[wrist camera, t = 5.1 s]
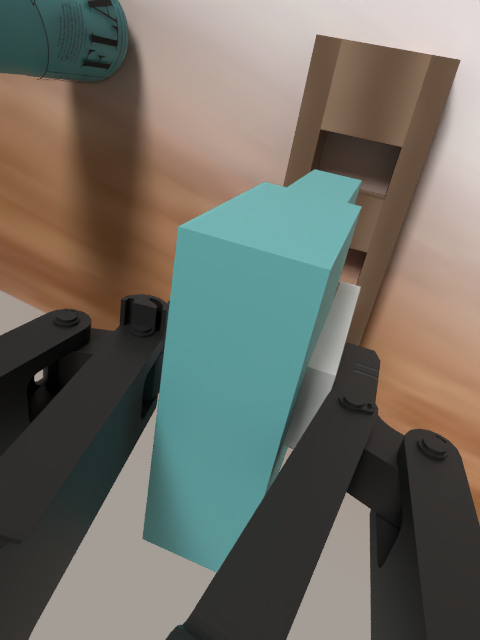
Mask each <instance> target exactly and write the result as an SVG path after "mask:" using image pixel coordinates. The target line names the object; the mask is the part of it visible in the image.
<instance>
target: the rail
mask: <svg viewBox="0 0 480 640" xmlns="http://www.w3.org/2000/svg"><path fill="white" fill-rule="evenodd" d="M459 63H460V60H458V59H452V58H446V57H441V56H435V55H429V54H424V53H418V52H412V51H407V50H401V49H396V48H390V47H384V46H379V45H373V44H367V43H362V42H356V41H350V40H345V39H339V38H333V37H328V36H322V35H316V39H315V44H314V49H313V53H312V58H311V62H310V67H309V72H308V76H307V81H306V85H305V90H304V94H303V99H302V104H301V108H300V113H299V117H298V122H297V127H296V131H295V136H294V140H293V145H292V149H291V154H290V159H289V163H288V168H287V172H286V177H285V182H284V186H283V187H288V186H290V185H291V184H293V183H294V182H296V181H297V180H299V179H300V178H302V177H304V176H305V175H307V174H308V173H310V172H311V171H313V170H314V169H316V170H317V168H318V164H319V160H320V156H321V152H322V148H323V144H324V140H325V136H326V132H327V131H331V132H336V133H340V134H345V135H349V136H354V137H358V138H363V139H367V140H372V141H376V142H381V143H386V144H390V145H395V146H399V147H401V149H400V152H399V155H398V159H397V162H396V165H395V168H394V171H393V174H392V177H391V180H390V183H389V186H388V189H387V192H386V195H382V194H378V193H373V192H369V191H365V190H361V189H359V192H358V196H357V199H356V202H355V205H358V206H362V208H361V211H360V214H359V217H358V221H357V224H356V227H355V231H354V234H353V237H352V240H351V244H350V247H349V248H352V249H356V250H359V251H363V252H367V253H366V256H365V260H364V263H363V266H362V269H361V272H360V275H359V278H358V281H357V284H356V285H357V286H360V287H361V288H360V292H359V295H358V299H357V302H356V306H355V309H354V313H353V316H352V320H351V324H350V327H349V331H348V334H347V338H346V341H345V342H348V343H351V344H354V345H357V346H359V345H360V342H361V339H362V336H363V334H364V331H365V328H366V325H367V322H368V319H369V317H370V314H371V311H372V308H373V305H374V303H375V300H376V297H377V294H378V291H379V288H380V286H381V283H382V280H383V277H384V274H385V272H386V269H387V266H388V263H389V260H390V257H391V255H392V252H393V249H394V246H395V243H396V241H397V238H398V235H399V232H400V229H401V227H402V224H403V221H404V218H405V215H406V212H407V210H408V207H409V204H410V201H411V198H412V196H413V193H414V190H415V187H416V184H417V181H418V179H419V176H420V173H421V170H422V167H423V165H424V162H425V159H426V156H427V153H428V150H429V148H430V145H431V142H432V139H433V136H434V134H435V131H436V128H437V125H438V122H439V119H440V117H441V114H442V111H443V108H444V105H445V103H446V100H447V97H448V94H449V91H450V89H451V86H452V83H453V80H454V77H455V74H456V72H457V69H458V66H459ZM339 285H340V283H338V286H337V289H336V292H337V290H338V287H339ZM335 295H336V293H335ZM334 297H335V296H334ZM333 300H334V299H333Z"/></svg>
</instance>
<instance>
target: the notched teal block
mask: <svg viewBox="0 0 480 640" xmlns="http://www.w3.org/2000/svg"><path fill="white" fill-rule="evenodd" d="M361 182H362V180H357V179H353V178H349V177H345V176H341V175H337V174H333V173H328V172H324V171H320V170H316V169H314V170H313V171H311V172H310V173H308V174H307V175H305V176H304V177H302V178H300V179H299V180H297V181H296V182H294V183H293V184H291V185H290V186H288V187H283V186H279V185H275V184H271V183H267V182H264V183H262V184H260V185H258V186H256V187H254V188H252V189H250V190H248V191H246V192H244V193H242V194H241V195H239V196H237V197H235V198H233V199H231V200H229V201H227V202H225V203H223V204H221V205H219V206H217V207H215V208H213V209H211V210H210V211H208V212H206V213H204V214H202V215H200V216H198V217H196V218H194V219H192V220H190V221H188V222H186V223H184V224H182V225H180V226H179V227H178V235H177V244H176V253H175V261H174V270H173V279H172V287H171V296H170V305H169V314H168V322H167V331H166V340H165V348H164V357H163V366H162V374H161V383H160V392H159V400H158V410H157V418H156V426H155V435H154V444H153V452H152V453H153V454H152V461H151V470H150V479H149V488H148V497H147V505H146V513H145V522H144V531H143V539H144V540H146V541H148V542H151V543H153V544H155V545H157V546H159V547H162V548H164V549H166V550H168V551H170V552H173V553H175V554H177V555H179V556H182V557H184V558H186V559H188V560H190V561H192V562H195V563H197V564H199V565H202V566H203V567H206V568H208V569H210V570H212V571H214V572H218V570H219V568H220V567H221V565H222V564H223V562H224V560H225V559H226V557H227V556H228V554H229V552H230V551H231V549H232V548H233V546H234V544H235V543H236V541H237V539H238V538H239V536H240V535H241V533H242V531H243V530H244V528H245V527H246V525H247V523H248V522H249V520H250V519H251V517H252V515H253V514H254V512H255V511H256V509H257V507H258V506H259V504H260V503H261V501H262V499H263V498H264V496H265V495H266V493H267V491H268V490H269V488H270V487H271V485H272V483H273V482H274V480H275V478H276V477H277V475H278V473H279V471H280V468H281V465H282V462H283V459H284V457H285V454H286V451H287V448H288V447H287V446H284V443H285V439H286V436H287V433H288V429H289V426H290V423H291V419H292V416H293V413H294V409H295V406H296V403H297V399H298V396H299V393H300V389H301V386H302V382H303V379H304V376H305V372H306V369H307V366H308V363H309V361H310V358H311V356H312V353H313V351H314V348H315V346H316V343H317V341H318V338H319V336H320V333H321V331H322V328H323V326H324V323H325V321H326V318H327V316H328V313H329V311H330V308H331V306H332V302H333V299H334V296H335V293H336V289H337V286H338V283H339V279H340V276H341V273H342V270H343V266H344V263H345V260H346V257H347V253H348V250H349V247H350V244H351V240H352V237H353V234H354V231H355V227H356V224H357V221H358V217H359V214H360V211H361V208H362V206H358V205H355V202H356V199H357V196H358V192H359V189H360V185H361Z"/></svg>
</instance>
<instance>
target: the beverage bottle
mask: <svg viewBox="0 0 480 640" xmlns="http://www.w3.org/2000/svg"><path fill="white" fill-rule="evenodd" d="M127 48H128V25H127V20H126V17H125V14H124V11H123V9H122V7H121V5H120V3H119V1H118V0H0V73H8V74H20V75H27V76H33V77H41V78H42V77H44V78H55V79H57V80H59V79H61V80H62V79H65V80H70V82H71V81H72V80H73V81H74V80H78V81H80V82H81V81H86V82H85V83H87V81H89V82H91V84H92V82H95V84H96V81H97V82H98V81H100V80H103V79H105V78H107V77H108V78H109V77H110V75H112V74H113V73H114V72H116V71H117V69H118V68H119V67H120V65H121V64H122V62H123V60H124V58H125V55H126V52H127ZM41 78H40V79H41ZM55 79H54V80H55ZM37 80H38V79H37ZM46 80H48V79H46ZM105 80H106V79H105ZM65 82H67V81H65ZM75 82H76V81H75ZM80 82H78V83H80ZM89 82H88V83H89ZM101 82H102V81H101ZM73 83H74V82H73ZM82 83H84V82H82ZM99 83H100V82H99Z"/></svg>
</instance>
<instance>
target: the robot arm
mask: <svg viewBox="0 0 480 640" xmlns="http://www.w3.org/2000/svg"><path fill="white" fill-rule="evenodd" d="M360 288H361V287H360V286H357V285H353V284H350V283H346V282H343V281H341V282H340V285H339V287H338V290H337V292H336V295H335V297H334V300H333V302H332V306H331V308H330V311H329V313H328V316H327V318H326V321H325V323H324V326H323V328H322V331H321V333H320V336H319V338H318V341H317V343H316V346H315V348H314V351H313V353H312V356H311V358H310V361H309V363H308V366H307V369H306V372H305V376H304V379H303V382H302V386H301V389H300V393H299V396H298V399H297V403H296V406H295V409H294V413H293V416H292V419H291V423H290V426H289V429H288V433H287V436H286V439H285V443H284V446H287V447H289V448H292V449H294V450H293V451H292V453H291V454H290V456H289V458H288V459H287V461H286V463H285V464H284V466H283V467H282V469H281V471H280V472H279V474H278V475H277V477H276V478H275V480H274V482H273V483H272V485H271V487H270V488H269V490H268V491H267V493H266V495H265V496H264V498H263V499H262V501H261V503H260V504H259V506H258V507H257V509H256V511H255V512H254V514H253V515H252V517H251V519H250V520H249V522H248V523H247V525H246V527H245V528H244V530H243V531H242V533H241V535H240V536H239V538H238V539H237V541H236V543H235V544H234V546H233V548H232V549H231V551H230V552H229V554H228V556H227V557H226V559H225V560H224V562H223V564H222V565H221V567H220V568H219V570H218V572H217V573H216V575H215V577H214V578H213V580H212V581H211V583H210V584H209V586H208V588H207V589H206V591H205V593H204V594H203V596H202V597H201V599H200V600H199V602H198V604H197V605H196V607H195V609H194V610H193V612H192V613H191V615H190V616H189V618H188V619H187V621H186V622H185V623H184V624H183V625H178V626H177V627H175V629H174V630H173V631H172V632H171V633H170V634H169V636H168V637H167V638H166V640H286V638H287V636H288V634H289V631H290V629H291V626H292V624H293V621H294V619H295V616H296V614H297V611H298V609H299V607H300V604H301V602H302V599H303V597H304V594H305V592H306V589H307V587H308V585H309V582H310V579H311V577H312V575H313V572H314V570H315V567H316V565H317V562H318V560H319V558H320V555H321V553H322V550H323V548H324V545H325V543H326V540H327V538H328V535H329V533H330V530H331V528H332V526H333V523H334V521H335V518H336V516H337V513H338V511H339V509H340V506H341V503H342V501H343V499H344V496H345V494H346V492H347V493H349V494H350V495H351V496H353V497H354V498H356V499H357V500H359V501H360V502H362V503H363V504H365V505H366V506H368V507H369V508H371V512H370V568H371V569H370V572H371V574H370V575H371V576H370V577H371V578H370V579H371V640H480V525H479V522H478V518H477V514H476V510H475V507H474V503H473V499H472V495H471V492H470V488H469V484H468V480H467V477H466V473H465V469H464V465H463V462H462V458H461V456H460V454H459V452H458V450H457V448H456V447H455V446H454V445H453V444H452V443H451V442H450V441H448V440H447V439H445V438H444V437H442V436H441V435H439V434H436V433H434V432H432V431H429V430H423V429H414V430H410V431H409V432H407V433H406V434H405V436H404V435H403V434H401V433H399V432H397V431H396V430H394V429H393V428H391V427H390V426H388V425H387V424H386V423H385V422H384V421H383V420H382V419H381V418H380V417H379V416H378V407H377V405H376V404H375V401H376V393H377V384H378V376H379V368H380V359H379V358H378V356H377V354H376V352H375V351H373V350H370V349H367V348H363V347H360V346H357V345H354V344H351V343H348V342H345V341H346V338H347V334H348V331H349V327H350V324H351V320H352V316H353V313H354V309H355V306H356V302H357V299H358V295H359V292H360ZM169 305H170V301H169V302H168V303H166V302H164V301H163V300H162V299H160V298H157V297H154V296H151V295H144V294H138V295H131V296H126V297H125V298H123V299H121V314H120V325H119V327H118V328H117V329H116V330H115V331H108V330H101V329H94V328H91V318H90V317H89V315H87V314H86V313H84V312H81V311H78V310H74V309H62V310H55V311H52V312H49V313H47V314H45V315H42V316H40V317H38V318H36V319H34V320H32V321H30V322H28V323H26V324H24V325H22V326H20V327H18V328H15V329H13V330H11V331H9V332H7V333H5V334H3V335H1V336H0V640H28V639H29V637H30V635H31V632H32V631H33V629H34V627H35V625H36V623H37V621H38V619H39V618H40V616H41V614H42V612H43V610H44V609H45V607H46V605H47V603H48V601H49V600H50V598H51V596H52V594H53V592H54V591H55V589H56V587H57V585H58V583H59V582H60V580H61V578H62V576H63V574H64V573H65V571H66V569H67V567H68V565H69V564H70V562H71V560H72V558H73V556H74V555H75V553H76V551H77V549H78V547H79V545H80V543H81V542H82V540H83V538H84V537H85V535H86V533H87V531H88V529H89V528H90V526H91V524H92V522H93V520H94V518H95V517H96V515H97V513H98V511H99V509H100V508H101V506H102V504H103V502H104V500H105V499H106V497H107V495H108V493H109V491H110V489H111V488H112V486H113V484H114V482H115V481H116V479H117V477H118V475H119V473H120V472H121V470H122V468H123V466H124V464H125V463H126V461H127V459H128V457H129V455H130V454H131V452H132V450H133V448H134V446H135V445H136V443H137V441H138V439H139V437H140V436H141V434H142V432H143V430H144V428H145V427H146V425H147V423H148V421H149V419H150V417H151V416H152V414H153V412H154V410H155V408H156V405H157V398H158V393H159V392H160V383H161V374H162V366H163V357H164V348H165V340H166V331H167V322H168V314H169ZM42 369H43V378H42V379H41V380H39V381H37V382H35V381H34V375H35V374H36V373H38V372H39V371H41V370H42Z"/></svg>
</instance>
